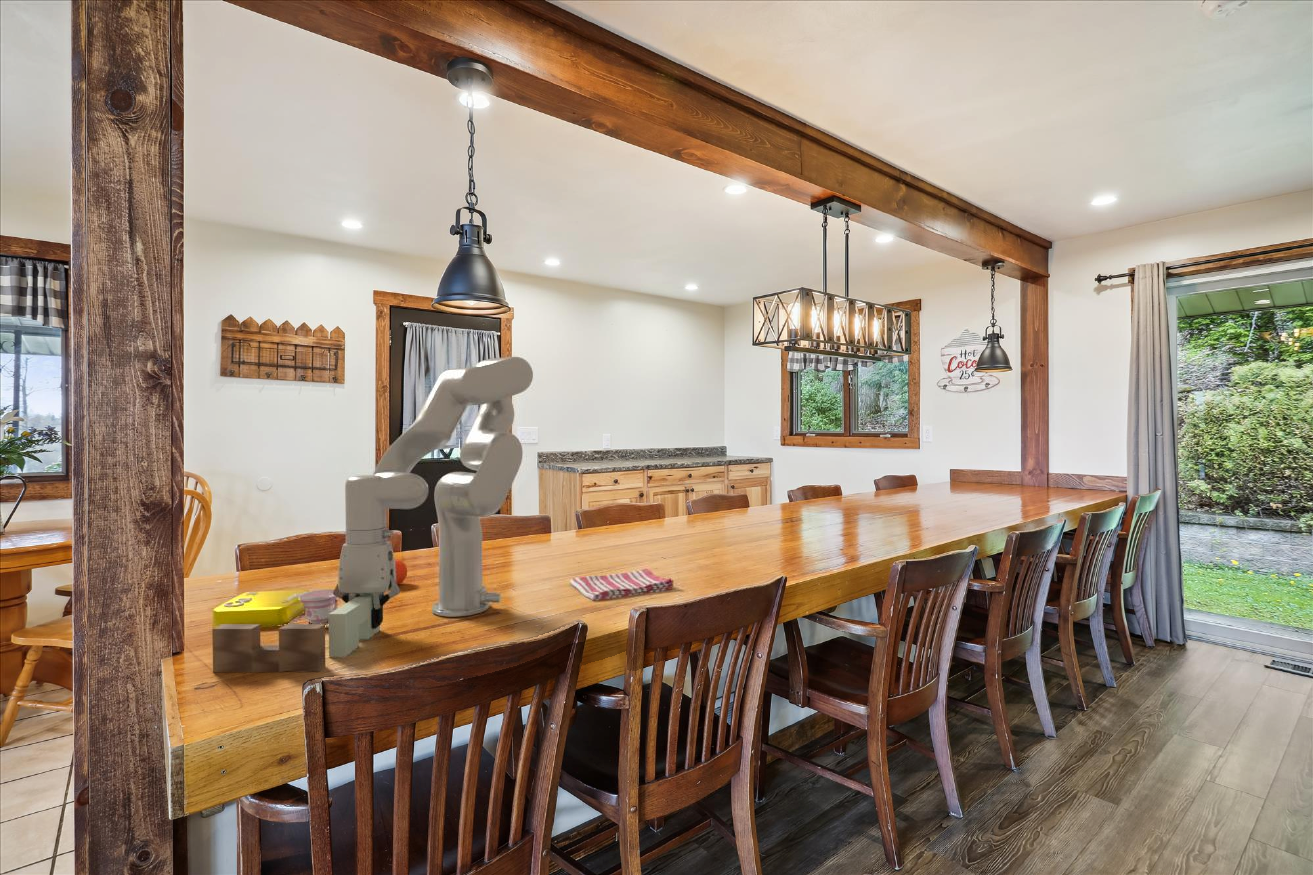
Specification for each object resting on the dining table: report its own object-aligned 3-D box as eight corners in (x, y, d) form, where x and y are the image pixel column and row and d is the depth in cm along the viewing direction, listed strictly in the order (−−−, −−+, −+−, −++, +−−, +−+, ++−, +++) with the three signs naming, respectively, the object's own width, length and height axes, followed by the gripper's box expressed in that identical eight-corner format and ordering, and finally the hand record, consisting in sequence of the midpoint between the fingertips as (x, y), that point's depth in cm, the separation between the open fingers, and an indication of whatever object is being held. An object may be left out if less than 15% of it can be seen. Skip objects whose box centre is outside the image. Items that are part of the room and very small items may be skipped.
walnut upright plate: (325, 666, 112) (325, 624, 111) (318, 671, 109) (317, 628, 109) (222, 666, 111) (221, 624, 111) (212, 672, 109) (212, 628, 109)
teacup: (274, 627, 133) (274, 598, 133) (322, 611, 144) (321, 584, 144) (318, 634, 129) (318, 604, 129) (363, 617, 140) (363, 589, 140)
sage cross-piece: (379, 630, 131) (379, 591, 131) (345, 657, 116) (345, 613, 116) (365, 630, 131) (364, 591, 131) (329, 657, 116) (328, 613, 116)
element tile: (286, 628, 133) (285, 605, 133) (208, 631, 131) (208, 608, 131) (313, 607, 148) (313, 587, 148) (244, 610, 146) (244, 589, 146)
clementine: (399, 589, 162) (399, 562, 162) (372, 589, 162) (372, 562, 162) (411, 582, 170) (411, 555, 170) (385, 582, 170) (385, 555, 170)
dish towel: (675, 591, 163) (675, 578, 163) (591, 603, 152) (591, 589, 152) (645, 577, 178) (645, 565, 178) (567, 587, 167) (567, 574, 167)
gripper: (413, 533, 132) (414, 620, 132) (334, 533, 132) (335, 621, 132) (399, 540, 124) (400, 632, 125) (315, 540, 124) (316, 633, 125)
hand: (367, 625), depth 128 cm, fingers closed on sage cross-piece, 3 cm apart
